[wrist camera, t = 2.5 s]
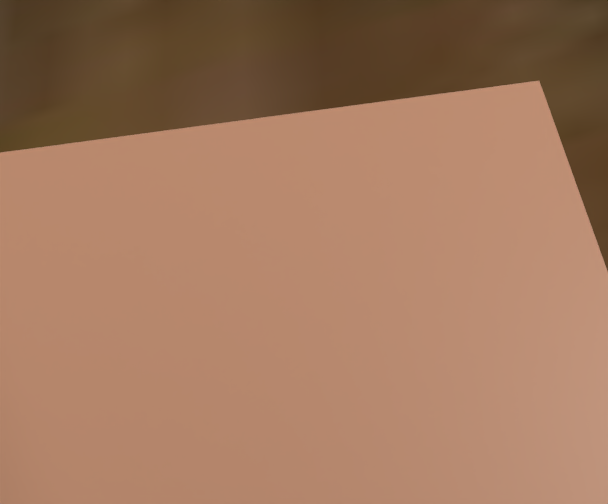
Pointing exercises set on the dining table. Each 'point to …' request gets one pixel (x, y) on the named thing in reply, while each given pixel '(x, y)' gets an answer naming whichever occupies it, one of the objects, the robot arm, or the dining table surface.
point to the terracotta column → (306, 312)
